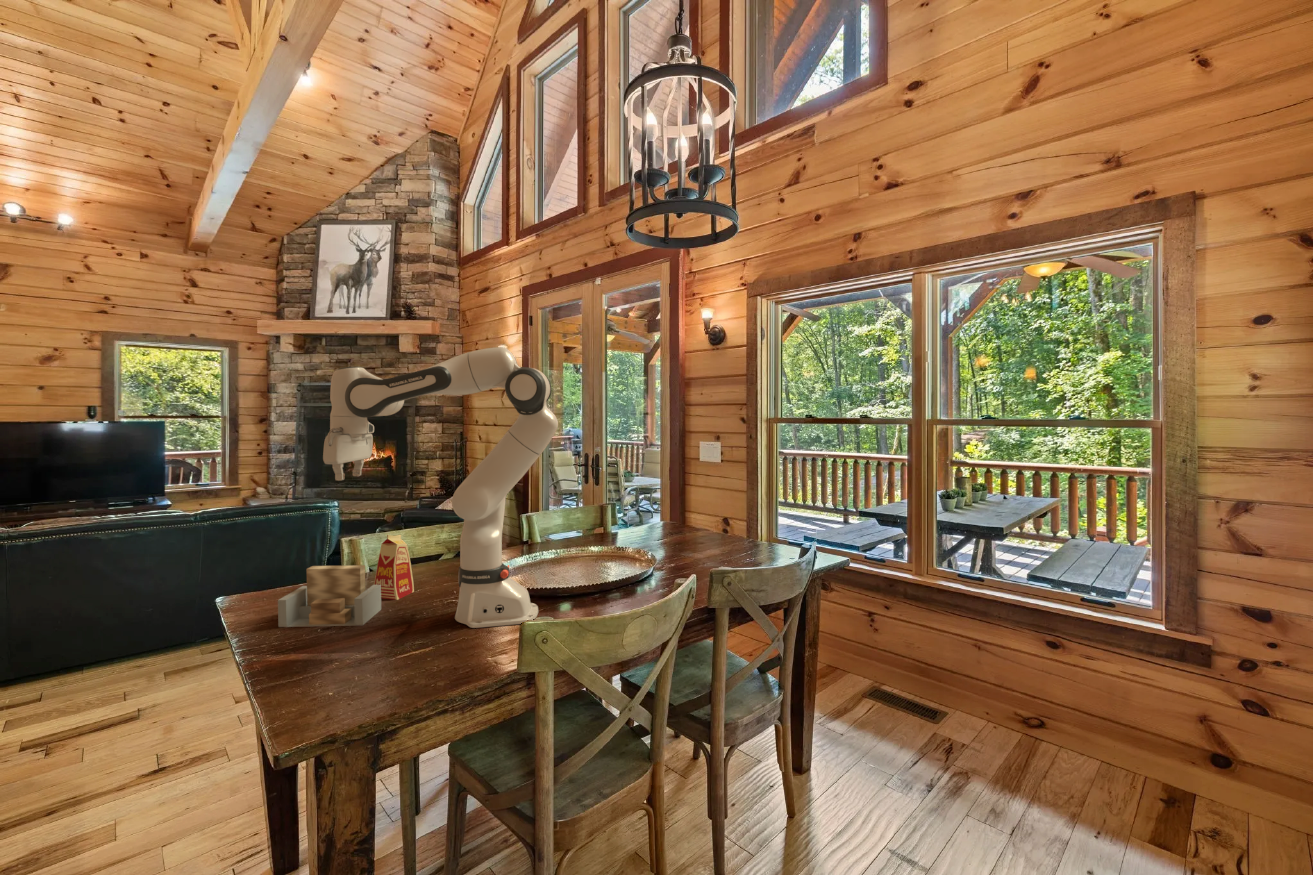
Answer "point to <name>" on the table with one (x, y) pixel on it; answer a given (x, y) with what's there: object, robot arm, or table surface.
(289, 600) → the rack
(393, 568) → the milk carton
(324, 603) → the offcut
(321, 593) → the panel
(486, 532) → the robot arm
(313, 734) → the table surface
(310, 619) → the offcut
